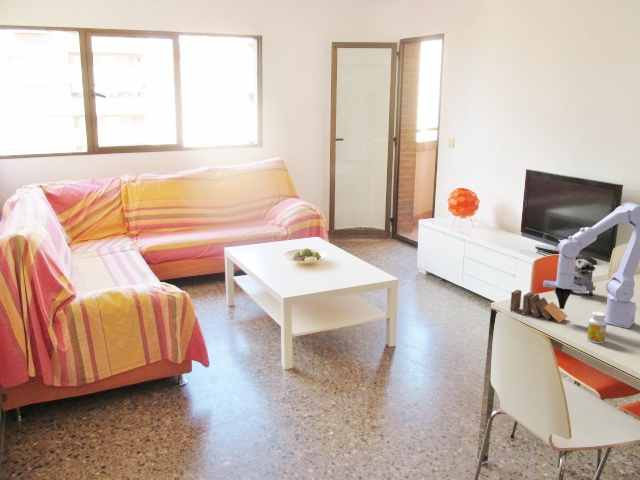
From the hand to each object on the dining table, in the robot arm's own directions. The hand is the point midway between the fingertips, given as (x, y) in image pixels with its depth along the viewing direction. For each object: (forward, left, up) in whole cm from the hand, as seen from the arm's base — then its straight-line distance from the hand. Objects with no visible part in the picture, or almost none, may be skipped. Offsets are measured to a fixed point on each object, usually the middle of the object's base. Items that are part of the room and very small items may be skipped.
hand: (561, 308), depth 221 cm
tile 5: (+17, 0, -5) cm, 18 cm away
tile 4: (+13, 0, -5) cm, 14 cm away
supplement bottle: (-16, +11, -5) cm, 20 cm away
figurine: (+4, -36, -5) cm, 37 cm away
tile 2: (+3, 0, -4) cm, 6 cm away
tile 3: (+8, 0, -5) cm, 9 cm away
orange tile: (-1, 0, -4) cm, 4 cm away
